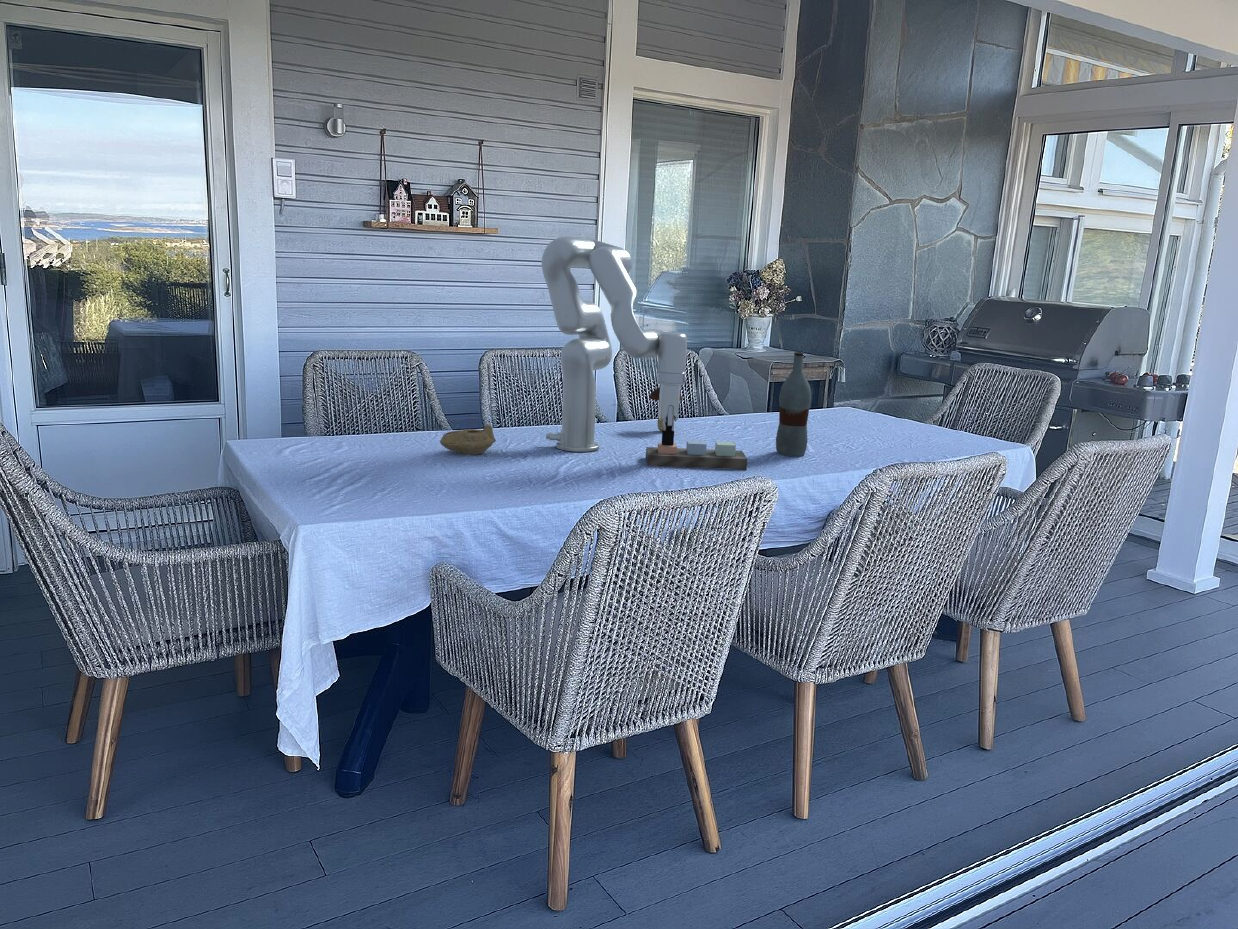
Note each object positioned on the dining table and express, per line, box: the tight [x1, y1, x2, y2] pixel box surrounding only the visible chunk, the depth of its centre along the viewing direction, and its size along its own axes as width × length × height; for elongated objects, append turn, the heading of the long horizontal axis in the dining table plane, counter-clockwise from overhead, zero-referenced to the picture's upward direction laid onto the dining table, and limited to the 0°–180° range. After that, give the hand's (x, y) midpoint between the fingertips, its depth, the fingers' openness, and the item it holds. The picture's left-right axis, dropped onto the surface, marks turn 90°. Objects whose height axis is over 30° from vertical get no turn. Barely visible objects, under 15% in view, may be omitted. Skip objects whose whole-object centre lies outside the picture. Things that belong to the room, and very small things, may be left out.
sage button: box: [714, 440, 737, 456], centre depth 266 cm, size 5×5×4 cm
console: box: [645, 446, 748, 471], centre depth 267 cm, size 27×11×3 cm, turn 91°
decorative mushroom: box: [648, 386, 683, 432], centre depth 311 cm, size 11×11×15 cm
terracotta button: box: [657, 442, 678, 454], centre depth 266 cm, size 5×5×4 cm
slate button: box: [685, 439, 707, 455], centre depth 266 cm, size 5×5×4 cm
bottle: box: [775, 351, 812, 457], centre depth 283 cm, size 9×9×30 cm
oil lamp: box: [439, 424, 497, 456], centre depth 267 cm, size 11×15×8 cm
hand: (667, 444), depth 266 cm, fingers closed
